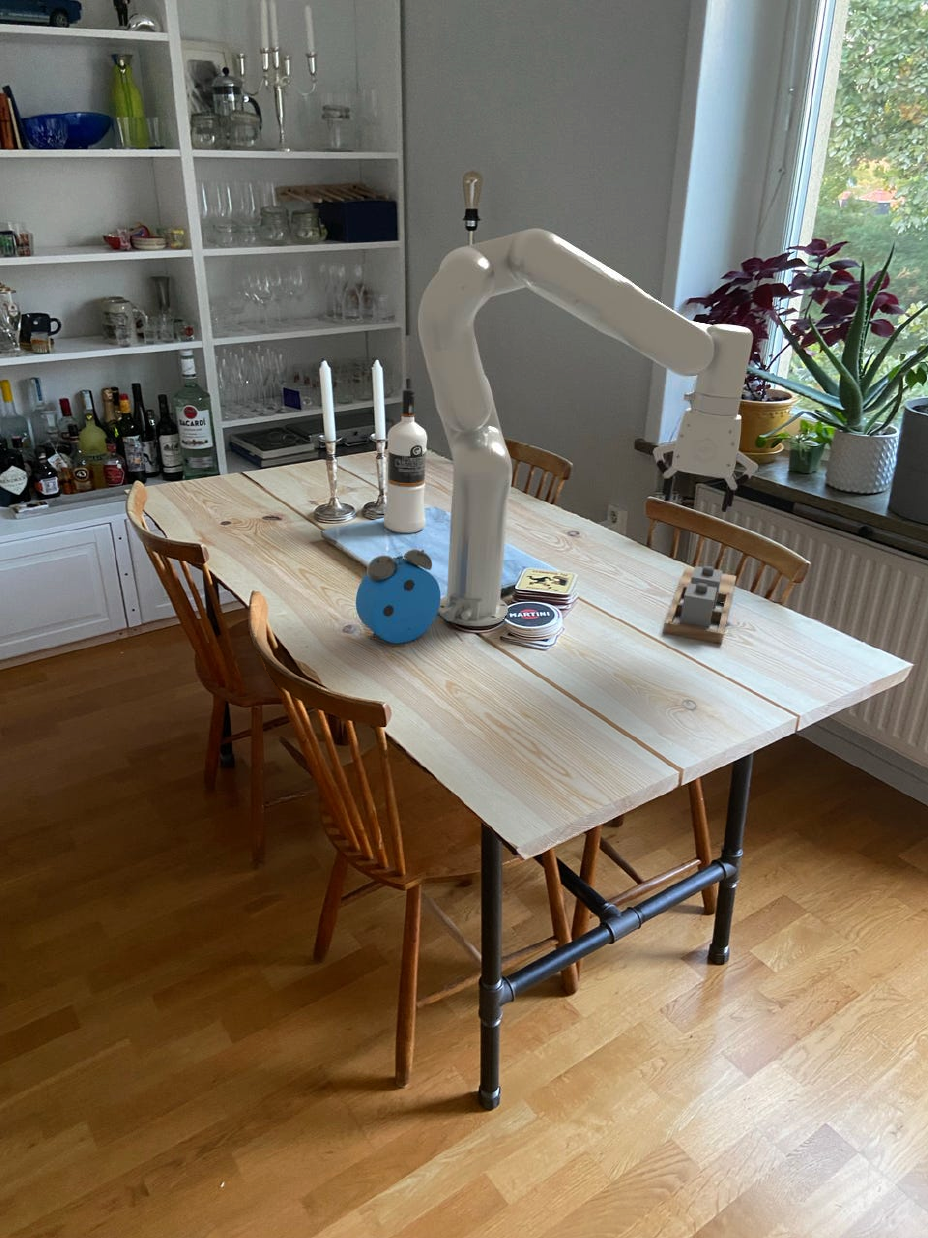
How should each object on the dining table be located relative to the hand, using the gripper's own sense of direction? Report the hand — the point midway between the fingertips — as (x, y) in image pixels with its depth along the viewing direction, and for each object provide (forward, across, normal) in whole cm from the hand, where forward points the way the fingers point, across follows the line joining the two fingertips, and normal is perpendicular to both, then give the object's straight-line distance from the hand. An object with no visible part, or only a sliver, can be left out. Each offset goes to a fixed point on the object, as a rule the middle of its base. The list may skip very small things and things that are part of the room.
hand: (695, 504), depth 155 cm
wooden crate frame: (+21, +4, +7) cm, 23 cm away
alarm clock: (+23, -41, -30) cm, 56 cm away
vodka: (+23, -62, +20) cm, 69 cm away
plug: (+22, +4, -2) cm, 22 cm away
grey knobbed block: (+22, +4, +7) cm, 23 cm away
